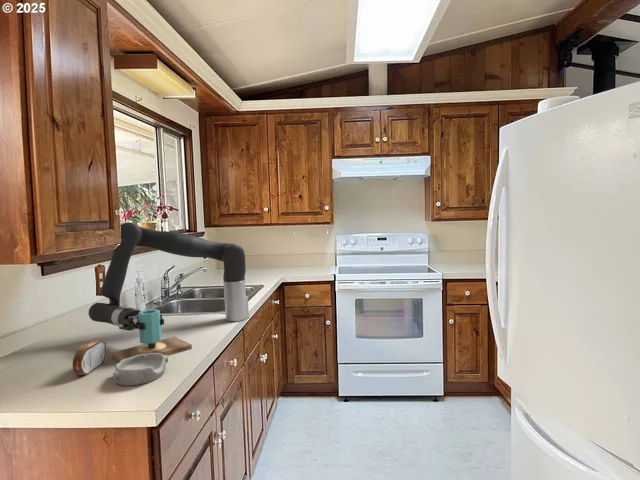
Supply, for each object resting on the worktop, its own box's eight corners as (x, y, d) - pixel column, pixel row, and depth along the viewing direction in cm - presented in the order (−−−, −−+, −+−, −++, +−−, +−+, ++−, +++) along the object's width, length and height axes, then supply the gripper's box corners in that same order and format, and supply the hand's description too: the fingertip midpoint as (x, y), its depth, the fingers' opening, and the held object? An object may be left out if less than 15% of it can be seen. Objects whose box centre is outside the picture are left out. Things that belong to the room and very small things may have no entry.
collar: (154, 336, 146) (152, 308, 145) (164, 339, 142) (162, 311, 141) (137, 341, 140) (135, 312, 140) (147, 344, 137) (145, 315, 136)
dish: (170, 366, 129) (169, 350, 128) (160, 384, 115) (158, 367, 115) (122, 370, 127) (121, 354, 126) (105, 390, 113) (103, 372, 113)
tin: (99, 361, 136) (97, 336, 135) (108, 360, 136) (106, 335, 135) (72, 380, 121) (69, 352, 120) (83, 379, 121) (80, 351, 120)
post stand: (174, 340, 154) (172, 312, 153) (191, 348, 144) (189, 318, 143) (111, 357, 139) (108, 326, 138) (126, 367, 129) (123, 333, 128)
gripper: (106, 312, 143) (133, 318, 133) (145, 303, 154) (171, 308, 145) (108, 333, 143) (134, 341, 134) (146, 323, 155) (173, 329, 145)
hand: (153, 324), depth 139 cm, fingers closed on collar, 6 cm apart
